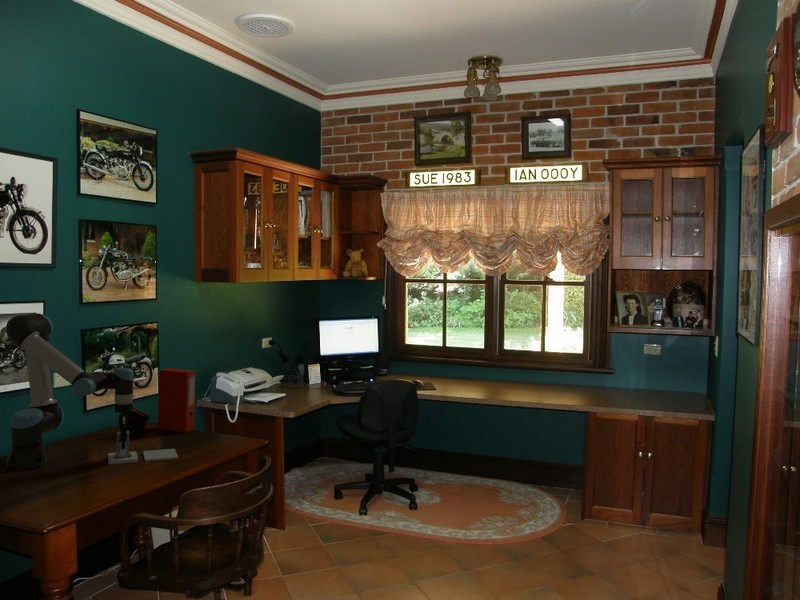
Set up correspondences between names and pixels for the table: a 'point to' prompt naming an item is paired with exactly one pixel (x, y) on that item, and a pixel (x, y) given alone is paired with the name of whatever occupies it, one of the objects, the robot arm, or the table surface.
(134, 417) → the black slab
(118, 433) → the slate block
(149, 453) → the pad
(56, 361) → the robot arm
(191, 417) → the file binder
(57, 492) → the table surface
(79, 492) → the table surface
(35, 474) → the table surface
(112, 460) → the pocket collar
